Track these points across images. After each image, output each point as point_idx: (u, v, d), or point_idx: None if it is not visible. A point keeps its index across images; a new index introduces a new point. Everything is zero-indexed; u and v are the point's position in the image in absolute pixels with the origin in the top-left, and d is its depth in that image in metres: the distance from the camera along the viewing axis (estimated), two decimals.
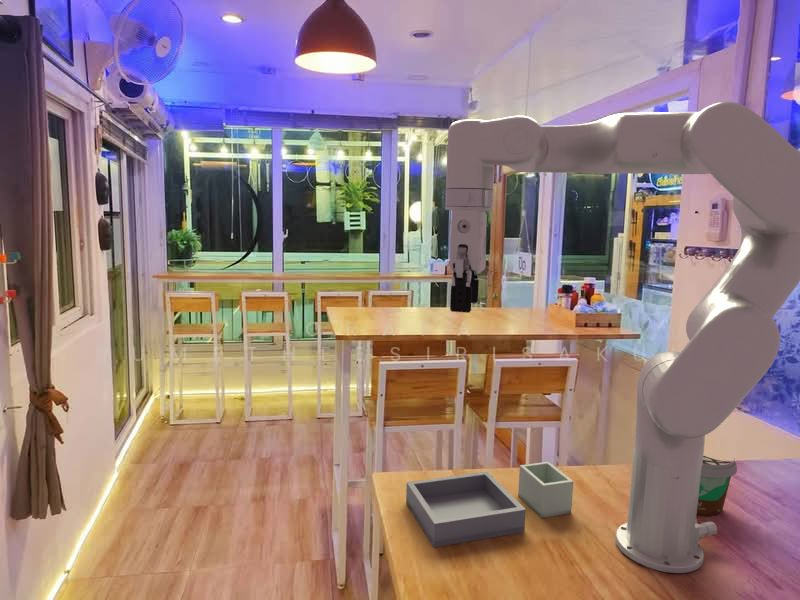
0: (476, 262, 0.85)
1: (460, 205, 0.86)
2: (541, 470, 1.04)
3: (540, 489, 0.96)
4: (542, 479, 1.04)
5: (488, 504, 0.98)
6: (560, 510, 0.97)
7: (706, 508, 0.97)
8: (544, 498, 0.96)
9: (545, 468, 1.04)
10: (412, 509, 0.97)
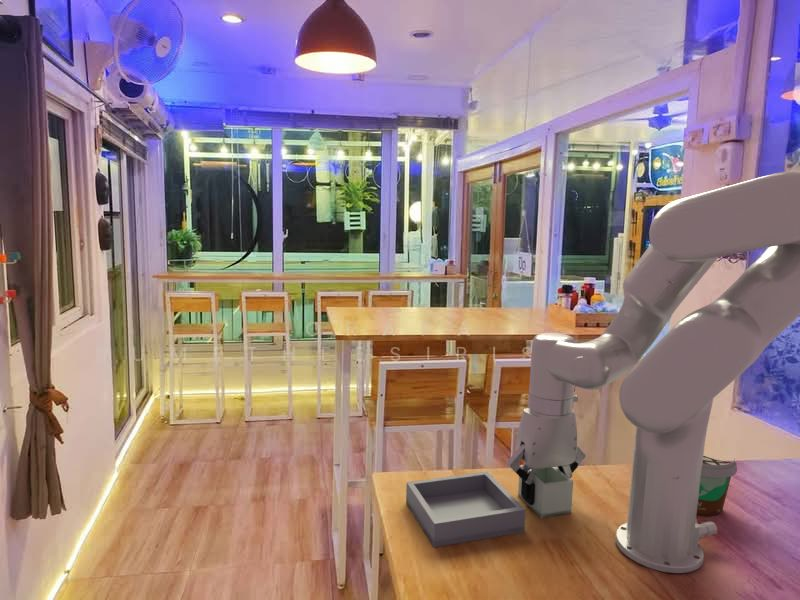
0: None
1: None
2: (541, 470, 1.04)
3: (540, 489, 0.96)
4: (542, 479, 1.04)
5: (488, 504, 0.98)
6: (560, 510, 0.97)
7: (706, 508, 0.97)
8: (544, 498, 0.96)
9: (545, 468, 1.04)
10: (412, 509, 0.97)
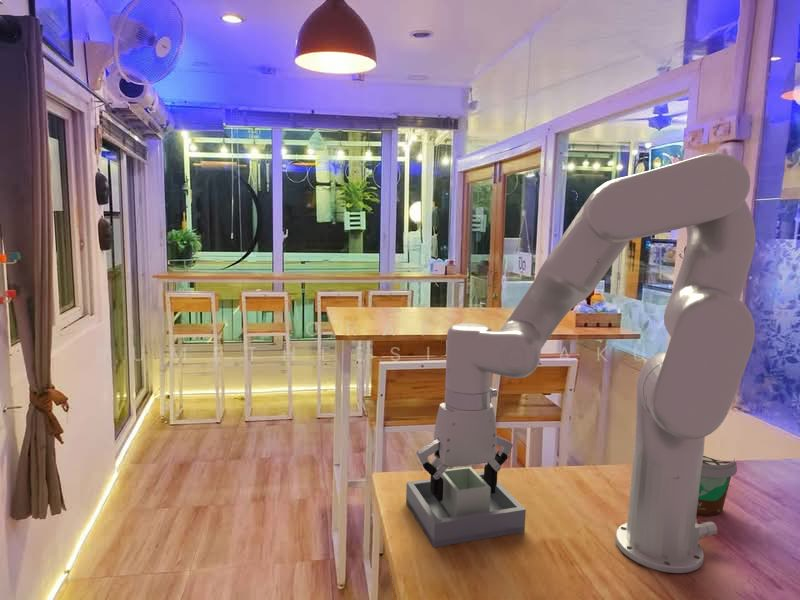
0: None
1: None
2: (462, 475, 0.99)
3: (455, 496, 0.91)
4: (464, 485, 0.99)
5: None
6: None
7: (706, 508, 0.97)
8: (459, 505, 0.91)
9: (467, 473, 0.99)
10: (412, 509, 0.97)
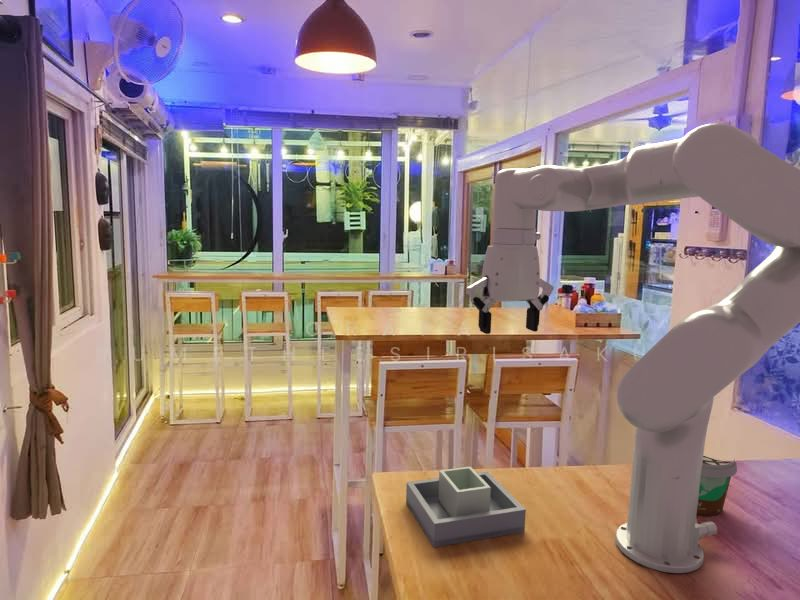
0: None
1: None
2: (462, 475, 0.99)
3: (455, 496, 0.91)
4: (464, 485, 0.99)
5: None
6: None
7: (706, 508, 0.97)
8: (459, 505, 0.91)
9: (467, 473, 0.99)
10: (412, 509, 0.97)
